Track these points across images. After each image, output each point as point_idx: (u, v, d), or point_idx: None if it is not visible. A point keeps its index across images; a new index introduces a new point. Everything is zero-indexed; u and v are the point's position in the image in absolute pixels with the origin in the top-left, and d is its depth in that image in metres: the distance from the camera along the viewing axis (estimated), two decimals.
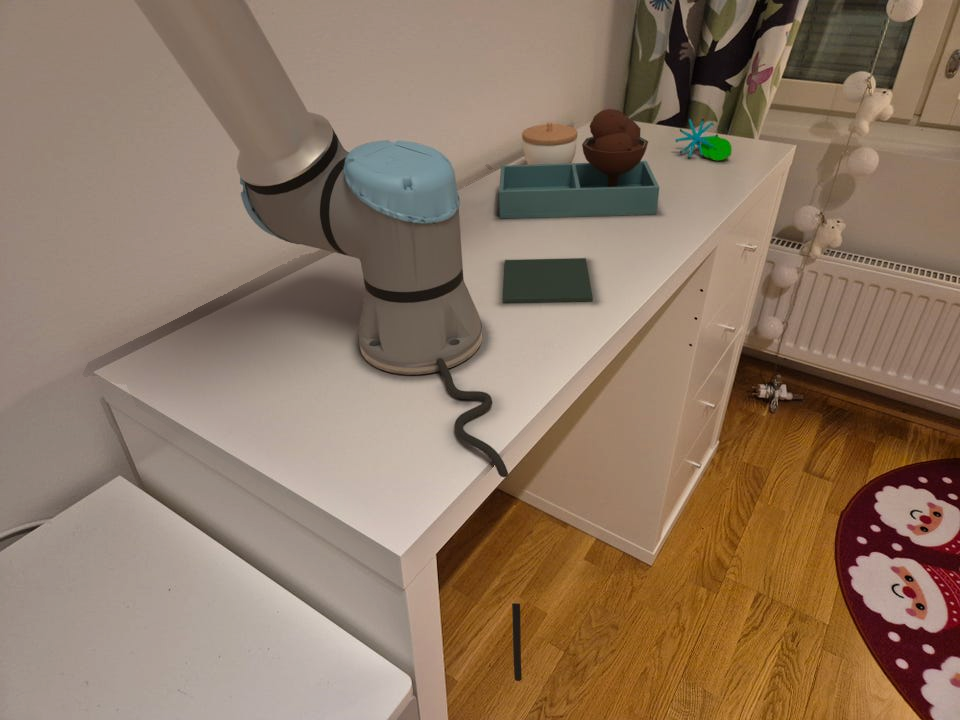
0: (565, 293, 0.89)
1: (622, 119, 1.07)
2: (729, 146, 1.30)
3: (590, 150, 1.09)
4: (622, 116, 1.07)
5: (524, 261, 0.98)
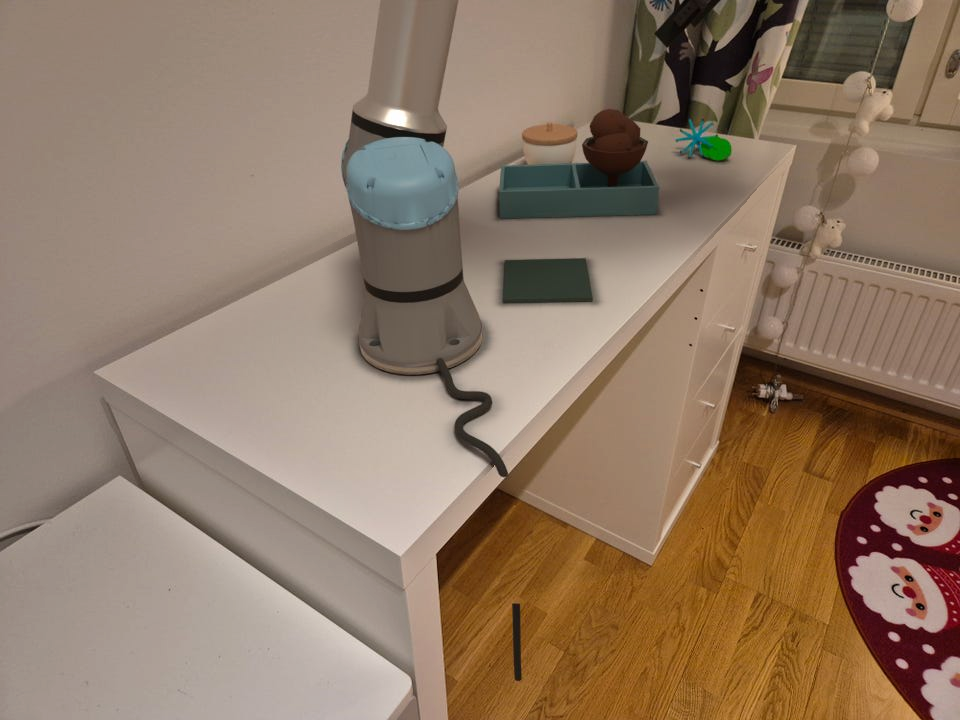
0: (565, 293, 0.89)
1: (622, 119, 1.07)
2: (729, 146, 1.30)
3: (590, 150, 1.09)
4: (622, 116, 1.07)
5: (524, 261, 0.98)
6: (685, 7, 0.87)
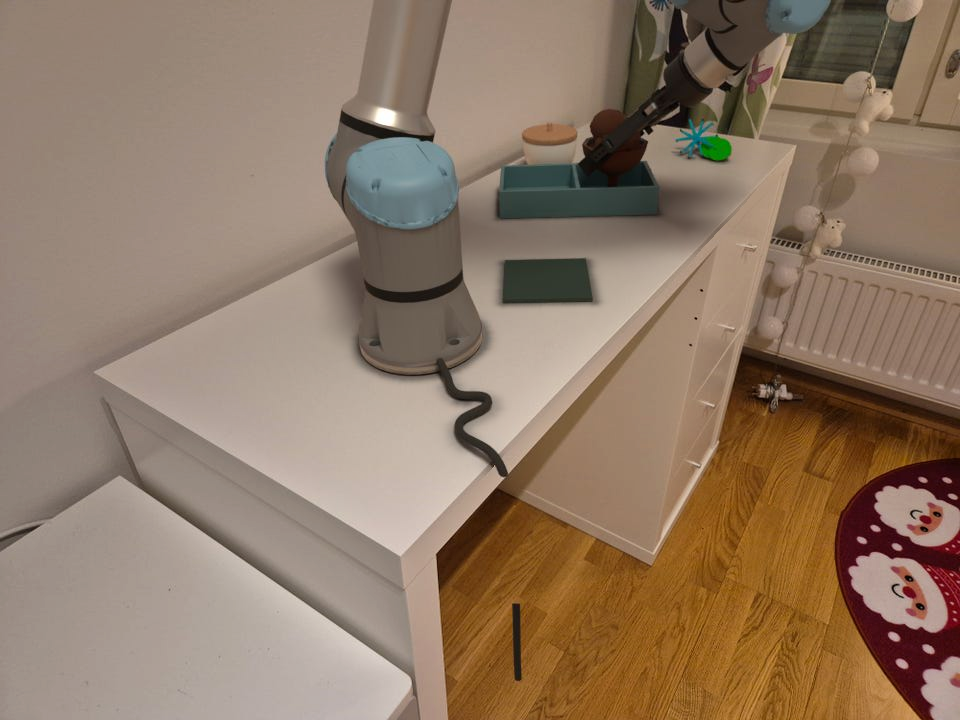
0: (565, 293, 0.89)
1: (622, 119, 1.07)
2: (729, 146, 1.30)
3: (590, 150, 1.09)
4: (622, 116, 1.07)
5: (524, 261, 0.98)
6: (600, 149, 1.06)
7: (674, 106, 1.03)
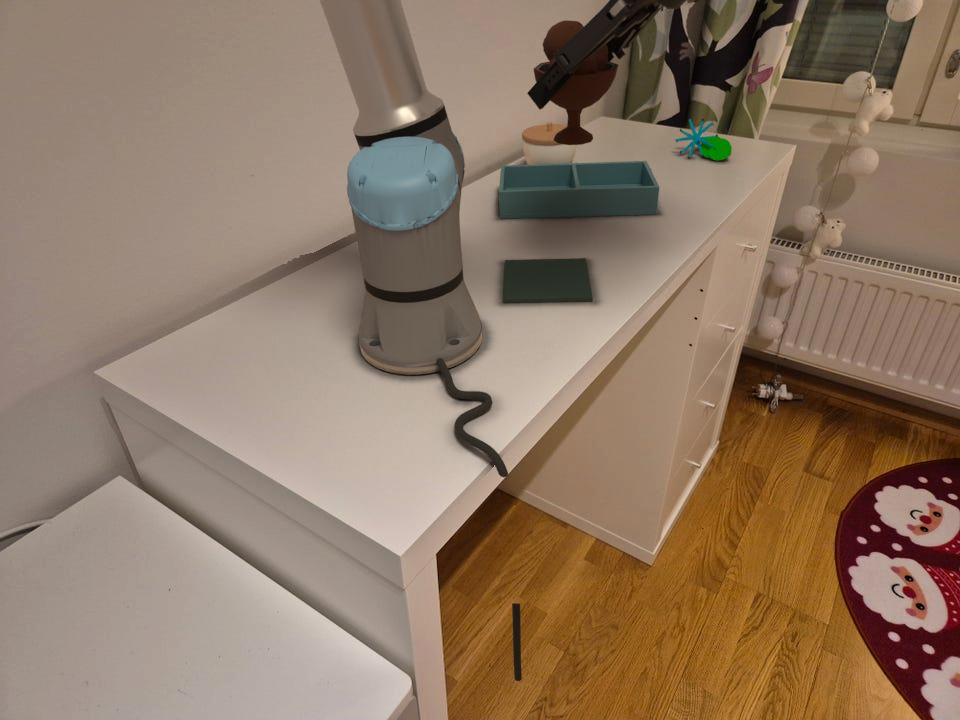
0: (565, 293, 0.89)
1: None
2: (729, 146, 1.30)
3: (543, 74, 0.84)
4: None
5: (524, 261, 0.98)
6: (553, 70, 0.81)
7: (650, 11, 0.79)
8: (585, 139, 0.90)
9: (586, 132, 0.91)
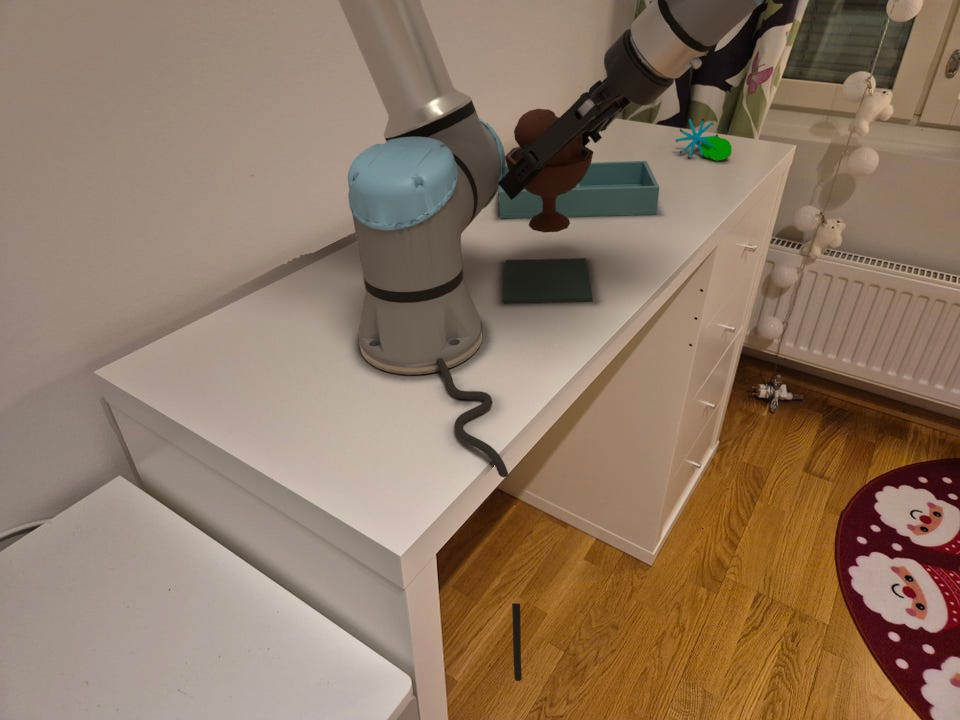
0: (565, 293, 0.89)
1: None
2: (729, 146, 1.30)
3: (513, 164, 0.81)
4: (555, 118, 0.79)
5: (524, 261, 0.98)
6: (523, 164, 0.77)
7: (623, 104, 0.75)
8: (561, 226, 0.86)
9: (562, 218, 0.87)
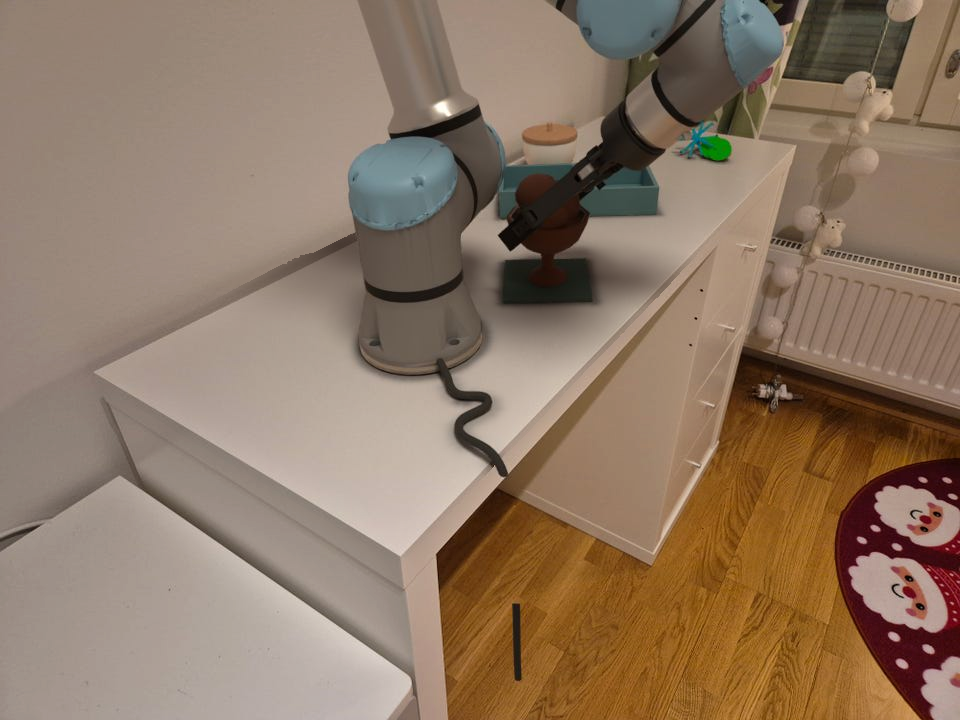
0: (565, 293, 0.89)
1: None
2: (729, 146, 1.30)
3: None
4: (554, 183, 0.84)
5: (524, 261, 0.98)
6: (522, 221, 0.80)
7: (617, 167, 0.79)
8: (558, 280, 0.91)
9: (560, 272, 0.92)
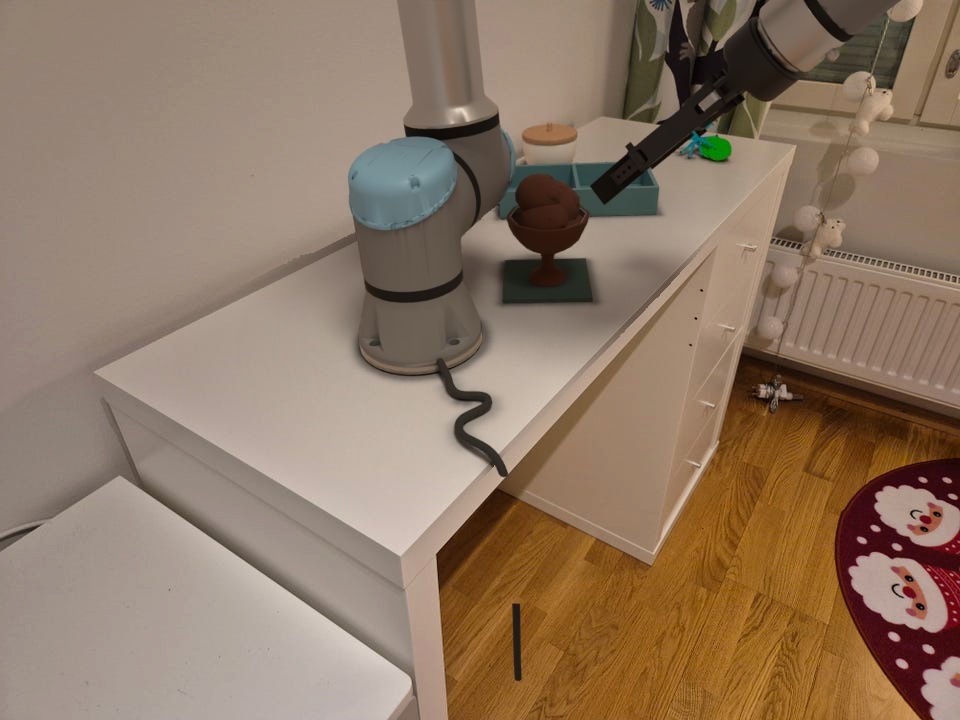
0: (565, 293, 0.89)
1: (554, 188, 0.83)
2: (729, 146, 1.30)
3: (514, 226, 0.85)
4: (554, 183, 0.84)
5: (524, 261, 0.98)
6: (624, 165, 0.69)
7: (736, 101, 0.68)
8: (558, 280, 0.91)
9: (560, 272, 0.92)
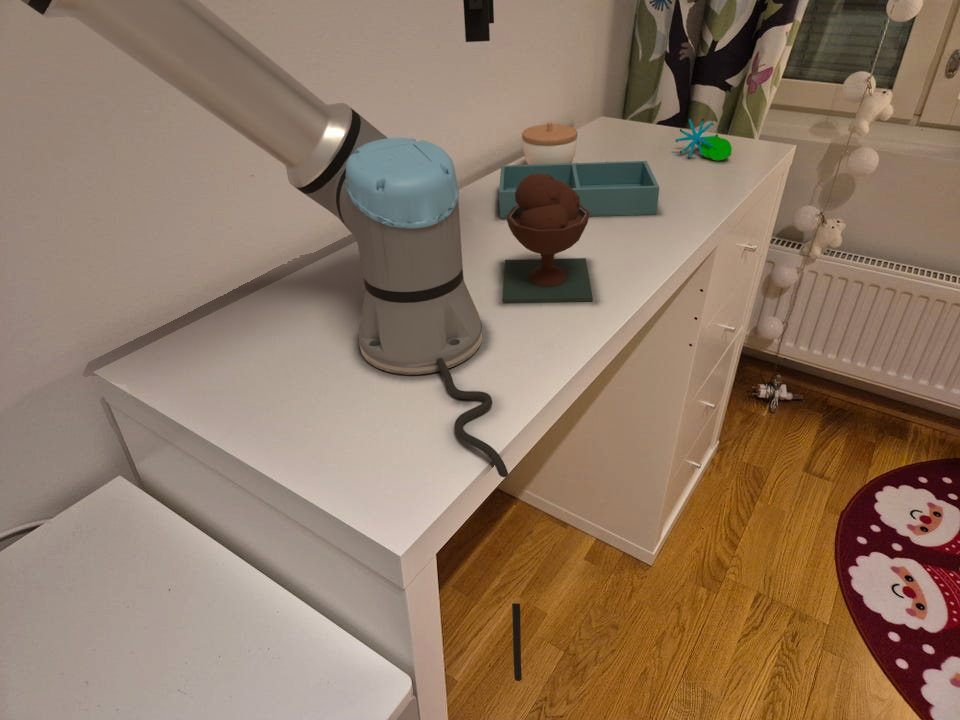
0: (565, 293, 0.89)
1: (554, 188, 0.83)
2: (729, 146, 1.30)
3: (514, 226, 0.85)
4: (554, 183, 0.84)
5: (524, 261, 0.98)
6: None
7: None
8: (558, 280, 0.91)
9: (560, 272, 0.92)
